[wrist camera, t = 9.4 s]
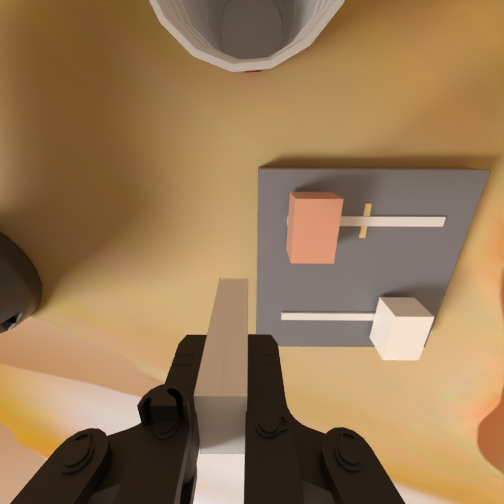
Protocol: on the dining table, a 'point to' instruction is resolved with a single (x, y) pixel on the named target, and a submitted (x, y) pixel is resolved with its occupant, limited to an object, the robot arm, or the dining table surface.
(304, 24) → the plastic cup
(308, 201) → the fader
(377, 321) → the fader
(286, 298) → the slider panel
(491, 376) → the dining table surface
